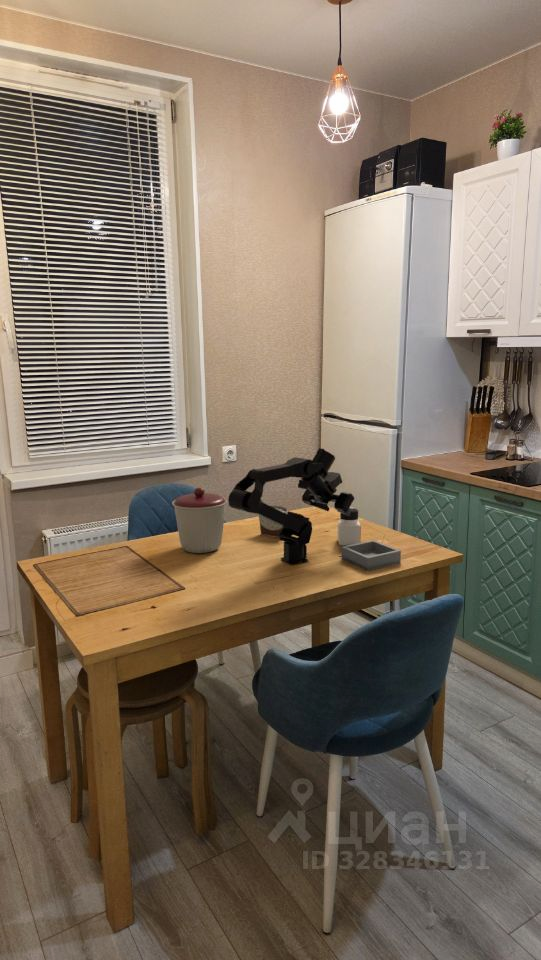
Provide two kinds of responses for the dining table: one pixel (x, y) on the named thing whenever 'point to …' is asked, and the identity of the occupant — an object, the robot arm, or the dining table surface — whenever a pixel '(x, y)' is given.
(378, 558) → the open-top box
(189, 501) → the canister
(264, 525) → the food container
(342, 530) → the medicine bottle
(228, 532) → the dining table surface
